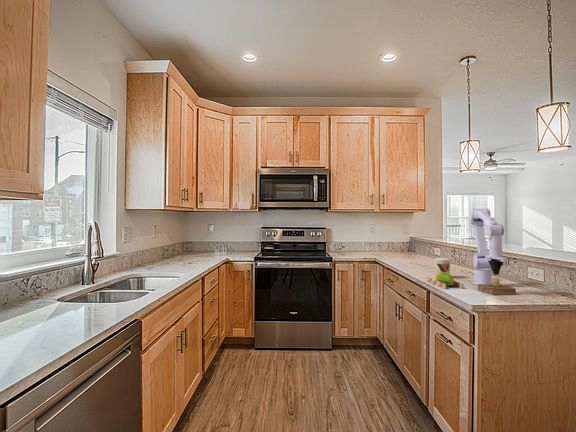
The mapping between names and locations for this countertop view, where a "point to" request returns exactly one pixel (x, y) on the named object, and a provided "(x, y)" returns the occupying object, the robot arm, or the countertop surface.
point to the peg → (495, 282)
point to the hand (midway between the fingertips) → (496, 274)
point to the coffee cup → (442, 265)
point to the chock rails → (443, 283)
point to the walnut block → (497, 289)
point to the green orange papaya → (445, 278)
